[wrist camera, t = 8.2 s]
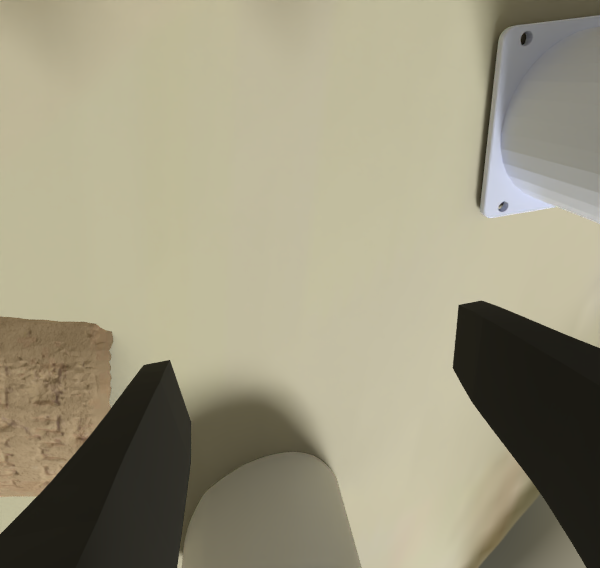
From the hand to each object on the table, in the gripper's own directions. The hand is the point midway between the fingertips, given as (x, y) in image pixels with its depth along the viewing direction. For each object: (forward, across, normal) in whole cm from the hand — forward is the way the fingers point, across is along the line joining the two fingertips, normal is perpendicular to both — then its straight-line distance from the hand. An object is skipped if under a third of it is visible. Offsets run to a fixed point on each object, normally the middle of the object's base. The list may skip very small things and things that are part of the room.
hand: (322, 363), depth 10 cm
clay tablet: (+11, +15, +8) cm, 20 cm away
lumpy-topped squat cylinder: (+10, +4, +21) cm, 24 cm away
